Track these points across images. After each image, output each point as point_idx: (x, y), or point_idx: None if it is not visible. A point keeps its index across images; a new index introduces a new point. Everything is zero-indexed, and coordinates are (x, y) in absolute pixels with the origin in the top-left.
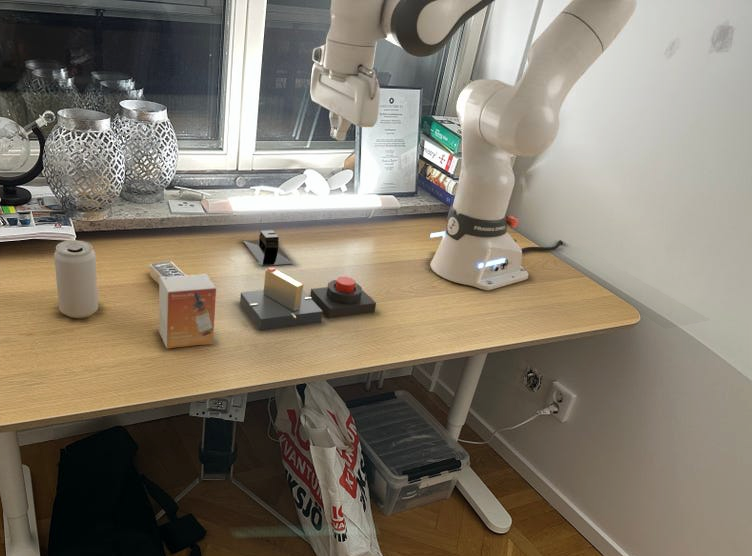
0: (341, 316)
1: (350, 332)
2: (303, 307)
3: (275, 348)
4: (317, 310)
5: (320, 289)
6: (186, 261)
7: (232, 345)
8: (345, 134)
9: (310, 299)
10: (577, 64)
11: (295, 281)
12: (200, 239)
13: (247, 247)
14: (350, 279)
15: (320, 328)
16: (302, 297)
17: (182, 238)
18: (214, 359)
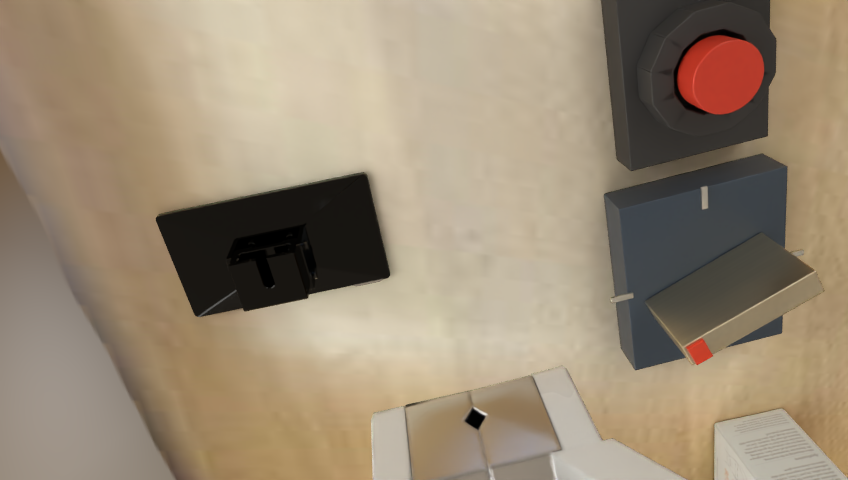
0: None
1: (832, 73)
2: (751, 219)
3: (839, 287)
4: (778, 181)
5: (639, 139)
6: (366, 459)
7: (798, 371)
8: (586, 413)
9: (710, 190)
10: None
11: (792, 291)
12: (200, 430)
13: (241, 306)
14: (723, 57)
15: (786, 160)
16: (693, 212)
17: (204, 472)
18: (836, 404)
